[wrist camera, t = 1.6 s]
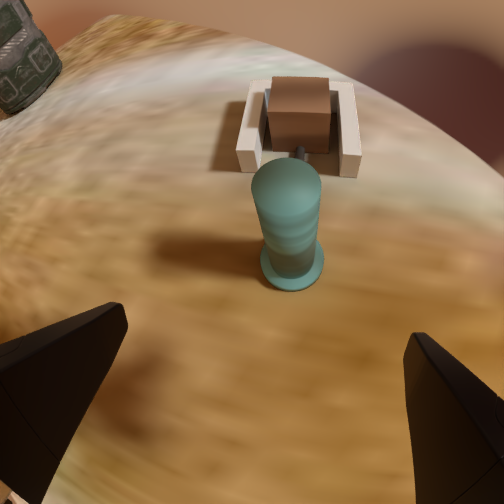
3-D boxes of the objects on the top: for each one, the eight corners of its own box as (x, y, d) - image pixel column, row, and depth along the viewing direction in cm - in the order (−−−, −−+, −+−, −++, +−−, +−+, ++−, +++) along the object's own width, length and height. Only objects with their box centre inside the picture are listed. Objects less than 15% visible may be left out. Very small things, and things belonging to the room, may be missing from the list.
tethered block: (324, 294, 22) (340, 233, 13) (255, 288, 23) (224, 226, 14) (327, 116, 28) (329, 31, 19) (277, 115, 29) (266, 30, 20)
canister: (6, 102, 47) (-52, 25, 21) (58, 57, 49) (8, -26, 23) (7, 128, 41) (-68, 35, 15) (70, 73, 43) (6, -32, 17)
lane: (356, 177, 25) (361, 155, 22) (241, 172, 27) (235, 150, 24) (350, 104, 29) (352, 82, 26) (255, 101, 30) (251, 80, 28)
